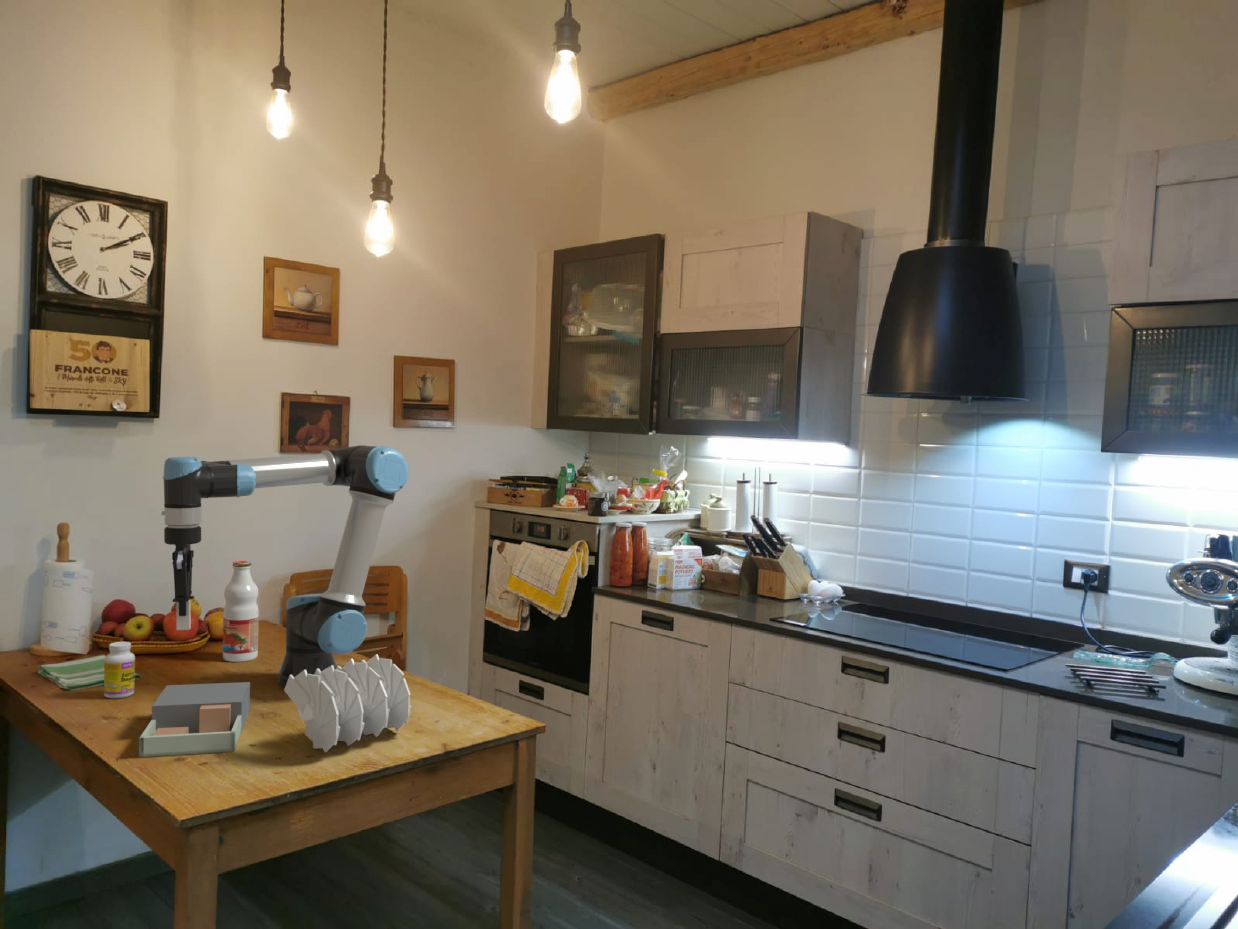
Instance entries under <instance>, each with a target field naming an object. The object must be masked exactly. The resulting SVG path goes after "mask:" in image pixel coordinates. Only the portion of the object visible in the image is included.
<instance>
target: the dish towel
mask: <svg viewBox="0 0 1238 929" xmlns="http://www.w3.org/2000/svg"><path fill="white" fill-rule="evenodd" d="M105 657H106V655H105V654H99V655H94V656H88V657H85V658H79V659H74V660H68V661H64V662H63V661H62V662H57V663H50V664H42V665H38V669H37V670H38V671H37V673H38V674H40V675H41V676H42V677H44V678H45V679H48V680H50V681H51V682H52V683H54V684H56V685H57V686H58V687H59V688H61V689H65V690H66V691H70V692H72V691H79V690H84V689H88V688H89V689H90V688H95V687H99V686H101V687H102V686H104V661H105ZM142 677H143V676H142V675H140V674H139V673H136V672H135V680H140V679H142ZM137 678H138V679H137Z"/></svg>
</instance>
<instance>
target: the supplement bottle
mask: <svg viewBox="0 0 1238 929" xmlns="http://www.w3.org/2000/svg"><path fill="white" fill-rule="evenodd" d="M131 648H132V643H131V642H129V641H115V642H111V643H110V644H109V646H108V650H109V653H108V654H107V655H105V661H104V685H103V695H104V697H105V698H108V699H123V698H127V697H130V696H132V695H133V694H134V693H135V673H136V672H135V671H136V656H135V654H134V653H133V652H131Z"/></svg>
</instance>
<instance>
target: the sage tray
mask: <svg viewBox="0 0 1238 929" xmlns="http://www.w3.org/2000/svg"><path fill="white" fill-rule="evenodd" d="M241 718H242V715H238V716H237V718H236V721H235V723H234V725H233V728H232V730H231V731H228V732H210V733H189V734H174V735H156V736H152V735H153V734H154V733H155V731H156V720H152V719H151V720H150V722H149V723H148V724H147V726H146V728H145V729H144V730H143V732H142V734H141V735H140V737H139V738H138V739H139V740H138V758H152V757H164V756H165V757H169V756H182V755H184V756H185V755H197V754H198V755H201V754H216V753H217V754H218V753H228V752H229V753H234V752H235V751H236V748H237V746H238V742H239V740H240V738H241V734H242V732H241Z"/></svg>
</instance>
